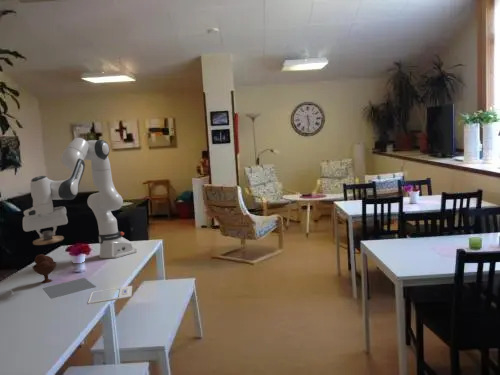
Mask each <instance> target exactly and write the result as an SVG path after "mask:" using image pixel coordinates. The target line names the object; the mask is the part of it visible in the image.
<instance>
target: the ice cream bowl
mask: <svg viewBox="0 0 500 375" xmlns="http://www.w3.org/2000/svg"><path fill="white" fill-rule="evenodd" d="M34 263H35V264H34V265H33V266H32V270H33V271H34V272H35V273H37V274H38V275H41V276H43V277H44V280H42V281H41V284H47V283H48V284H49V283H51V282H53V279H50V278H49V275H50V274H51V273H53V271H54V270H55V269H56V267H57V262H56V261H55V260H54V259H53V258H52V257H51V256H50V255H46V254H44V253H42V254H40V253H39V254H37V255H36V256H35V258H34Z"/></svg>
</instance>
